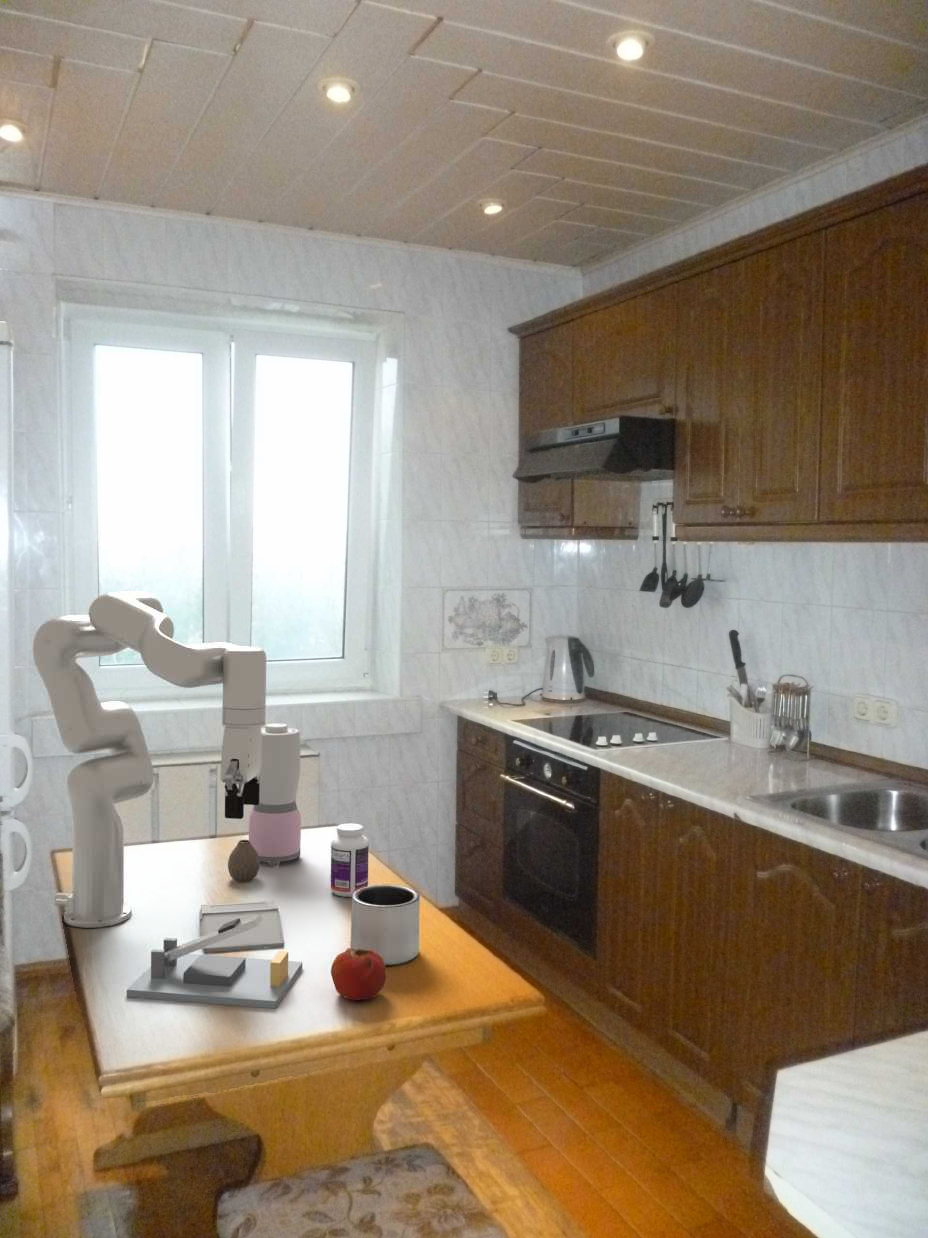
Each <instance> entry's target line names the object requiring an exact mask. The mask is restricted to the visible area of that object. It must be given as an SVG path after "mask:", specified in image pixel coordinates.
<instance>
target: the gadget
mask: <svg viewBox="0 0 928 1238" xmlns="http://www.w3.org/2000/svg"><path fill="white" fill-rule="evenodd" d="M258 914H260V915H261V917H262V919H263V920H262V922H261V923H260V924H259V925H258V926H257V927H255V928H252V929H250V930H247V931H245V932H242V933H239V934H237V935H234V936H232V937H229V938H227V939H224V940H222V941H219V942H217V943H214V944H212V945H209V946H207V947H204V948H202V949H201V952H202V951H204V952H203V953H214V952H215V951H217V952H226V951H227V952H228V951H229V952H230V951H242V950H243V949H244V950H254V949H253V948H258V949H268V948H267V947H271V948H280V947H284V946H285V940H284V934H283V933H284V932H283V926H282V920H281V915H280V914H281V913H280V911H279V907H278V905H277V904H276V902H275V901H274V900H263V901H261V900H260V901H247V902H231V903H229V902H228V903H217V904H216V903H215V904H214V903H213V904H201V905H200V909H199V915H200V933H201V934H200V937H203V936H205V935H208V934H210V933H213V932H215V931H218V930H219V929H220V928H221V927H222V926H223V925H224V924H226V923H228V922H231V921H233V920H236V919H238V918H240V921H243V920H245V919H248V918H250V917H253V916H255V915H258ZM264 947H266V948H264ZM215 953H216V952H215Z"/></svg>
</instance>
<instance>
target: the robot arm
mask: <svg viewBox="0 0 928 1238" xmlns="http://www.w3.org/2000/svg"><path fill="white" fill-rule="evenodd" d="M174 634H175V626H174V623H173V620H172V619H171V618H170V617H169V616H168V615H166V614H164V609H163V605H162V604H161V602H160V600H159V599H158V598H157V597H155V596H154V595H153V594H151V593H150V592H149V593H148V592H146V591H115V592H108V593H107V592H106V593H104V594H101V595H99V596H98V597H96V598H95V599H94V600H93V601H92V602H91V604H90V606H89V609H88V614H77V615H76V614H74V615H62V616H58V617H53V618H50V619H49V620H46V621H45V622H44V623H42V624H41V625H40V626H39V628H38V629H37V631H36V633H35V635H34V638H33V642H32V656H33V661H34V664H35V667H36V670H37V672H38V675H39V676H40V678H41V680H42V681H43V684H44V687H45V689H46V691H47V694H48V696H49V697H48V698H49V700H50V705H51V708H52V711H53V714H54V719H55V722H56V725H57V728H58V731H59V735H60V738H61V740H62V741H61V742H62V743H63V746H64V748H65V749H66V751H68V752H69V753H71V754H74V755H85V754H91V753H96V752H103V751H108V753H109V755H104V756H100V757H96V758H91V759H87V760H85V761H82V762H80V763H79V764H77V765H75V767H73V768H72V769H71V771H70V772H69V774H68V776H67V779H66V790H67V791H66V793H67V796H68V800H69V806H70V807H69V808H70V815H71V824H72V825H71V829H72V832H71V833H72V836H71V838H72V839H71V840H72V858H71V859H72V864H71V865H72V873H71V874H72V884H71V885H72V889H71V890H72V891H71V893H66V892H65V893H64V892H57V893H55V895H54V906H55V907H65V908H66V911H65V912H64V913H63V921H64V923H66V924H67V925H69V926H72V927H74V928H75V927H76V928H82V929H83V928H84V929H94V928H105V927H106V928H107V927H111V926H113V925H115V926H116V925H118V924H120V923H122V922H124V921H126V920H128V919H129V918H131V916H132V912H133V911H132V909H133V908H132V907H131V905H129V904H127V903H126V902H124V899H125V898H124V893H125V891H124V890H125V889H124V886H125V885H124V881H125V880H124V879H125V878H124V877H125V876H124V875H125V874H124V870H125V861H124V860H125V858H124V857H125V855H124V854H125V853H124V851H125V849H124V848H125V845H124V844H125V838H124V837H125V836H124V835H125V830H124V829H125V828H124V823H123V821H122V818H121V816H120V815H119V813H118V811H117V810H116V806H115V805H117V804H119V803H123V802H127V801H130V800H134V799H137V798H140V797H143V796H145V795H146V794H148V792H149V791H150V790H151V788H152V787H153V784H154V779H155V776H154V774H155V773H154V772H155V771H154V767H153V762H152V758H151V756H150V755H151V754H150V751H149V749H148V745H147V742H146V738H145V736H144V732H143V728H142V725H141V722H140V719H139V716H138V715H137V714H136V712H135V711H134V709H133V708H132V707H131V706H130V705H128V704H127V703H125V702H122V701H118V700H113V701H111V700H110V701H105V702H100V699H99V697H98V695H97V692H96V690H95V689H96V688H95V686H94V682H93V681H92V678H91V676H89V673H87V671H86V670H85V669H84V668H83V667H82V666H81V665H80V664H79V663H77V659H81V658H83V659H84V658H94V657H95V658H96V657H105V656H110V655H115V654H117V653H119V652H122V651H123V650H124V651H125V649H127V648H129V649H131V650H133V651H134V652H137V653H138V654H140V657H141V660H142V662H143V663H144V665H145V667H146V668H147V670H148V671H149V672H150V673H151V674H153V675H154V676H156V677H158V678H160V679H162V680H164V681H166V682H168V683H170V684H172V685H175V686H176V687H177V686H178V687H180V688H184V689H192V688H199V687H205V686H213V685H222V707H221V708H222V714H221V715H222V718H221V719H222V722H221V723H222V725H221V726H222V727H224V731H223V736H222V744H221V745H222V746H221V757H220V758H221V759H220V774H219V775H220V777H219V779H220V781H221V782H222V783H225V784H224V818H226V819H235V820H242V819H243V818H244V815H245V814H244V811H245V810H244V808H245V805H246V806H247V805H249V806H254V805H258V804H259V792H260V783H259V781H260V776H259V773H260V770H261V762H262V739H261V728H262V727H265V726H266V709H267V707H266V703H267V701H266V699H267V696H266V695H267V654H266V652H265V650H264V649H263V648H260V647H256V646H255V647H254V646H240V645H236V644H232V643H229V642H210V643H198V644H190V645H186V644H183V643H180V642H179V641H176V640H174V639H173V638H174Z"/></svg>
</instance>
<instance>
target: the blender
mask: <svg viewBox="0 0 928 1238" xmlns="http://www.w3.org/2000/svg"><path fill="white" fill-rule="evenodd" d="M261 739H262V762H261V770H260V773H259V776H260V781H259V783H260V792H259V804H258V805H253V807H252V809H251V812H250V813H249V820H248V840H249V841H250V843H251V845H252V846H253V847H254V849H255V850H256V851H257V853H258V855H259V859H260V862H264V863H265V862H266V863H268V867H269V868H277V867H279V866H280V865H279V864H280V862H286V861H287V862H288V861H292V860H295V859H300V858H301V849H302V848H301V835H302V819H301V817H302V816H301V813H300V811H299V808H298V805H297V803H296V801H297V800H296V799H297V794H298V793H297V792H298V787H299V783H300V782H299V780H300V773H301V736H300V731H299V730H298V729H296V728H294V727H293V728H292V727H289V726H288V725H287V724H286V723H267V724H265V725H264V727H261Z"/></svg>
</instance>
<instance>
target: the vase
mask: <svg viewBox="0 0 928 1238" xmlns="http://www.w3.org/2000/svg"><path fill="white" fill-rule="evenodd" d="M260 865H261V861H260V859H259V855H258V853H257V851H256V850H255V849H254V847H253V846H252V845H251V843H250V841H249V839H240V840H238V843H237V844H236V846H235V847H234V848H233V850H231V852H230V854H229V857H228V860H227V870H228V874H229V876H230V877H231V879H232V880H234V882H236V883H250V882H252V881H253V880H254V879H256V878H257V876H258V874H259V871H260Z"/></svg>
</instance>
